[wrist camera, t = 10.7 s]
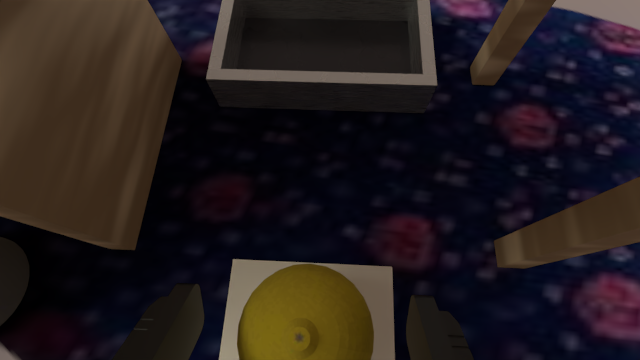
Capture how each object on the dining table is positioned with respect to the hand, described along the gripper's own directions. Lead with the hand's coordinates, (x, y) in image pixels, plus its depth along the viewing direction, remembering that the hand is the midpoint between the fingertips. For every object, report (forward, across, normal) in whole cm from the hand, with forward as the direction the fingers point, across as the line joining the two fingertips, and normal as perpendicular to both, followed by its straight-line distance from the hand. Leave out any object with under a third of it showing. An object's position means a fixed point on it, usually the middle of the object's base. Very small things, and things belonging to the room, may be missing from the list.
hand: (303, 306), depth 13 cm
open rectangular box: (+16, 0, -8) cm, 18 cm away
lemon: (+4, 0, +5) cm, 6 cm away
